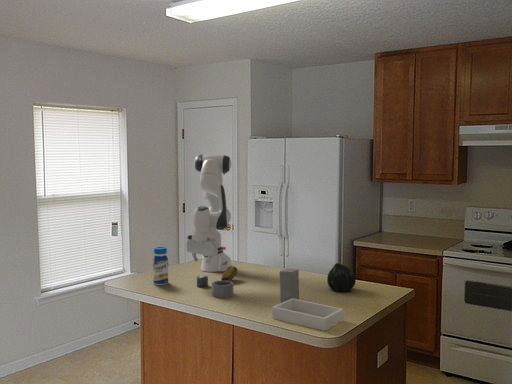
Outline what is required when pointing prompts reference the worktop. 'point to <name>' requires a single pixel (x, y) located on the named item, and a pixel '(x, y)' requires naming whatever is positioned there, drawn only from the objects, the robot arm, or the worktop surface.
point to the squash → (341, 278)
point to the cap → (202, 281)
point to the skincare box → (289, 284)
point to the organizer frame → (286, 314)
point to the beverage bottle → (160, 266)
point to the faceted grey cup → (222, 289)
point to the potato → (229, 273)
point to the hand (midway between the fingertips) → (201, 262)
